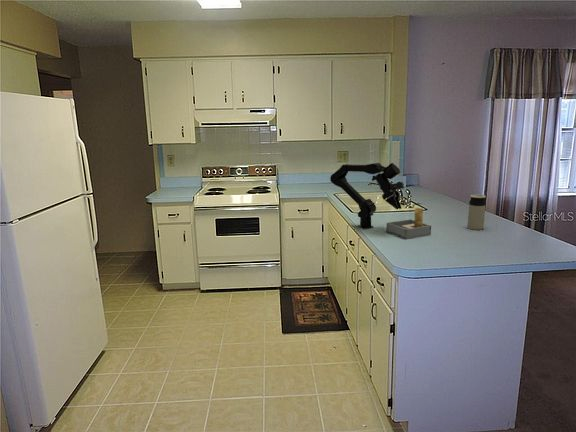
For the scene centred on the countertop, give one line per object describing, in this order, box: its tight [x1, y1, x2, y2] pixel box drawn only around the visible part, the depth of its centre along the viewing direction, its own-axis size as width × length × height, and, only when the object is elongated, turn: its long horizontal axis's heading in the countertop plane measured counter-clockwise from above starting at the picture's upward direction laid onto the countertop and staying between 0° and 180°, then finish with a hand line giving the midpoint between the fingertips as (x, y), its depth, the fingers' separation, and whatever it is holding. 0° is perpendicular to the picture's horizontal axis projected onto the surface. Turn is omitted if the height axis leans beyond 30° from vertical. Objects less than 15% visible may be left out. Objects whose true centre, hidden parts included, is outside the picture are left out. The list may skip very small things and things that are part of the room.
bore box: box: [385, 218, 432, 240], centre depth 215 cm, size 16×16×5 cm
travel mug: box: [467, 194, 487, 231], centre depth 219 cm, size 8×8×18 cm
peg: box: [414, 207, 424, 228], centre depth 212 cm, size 4×4×12 cm
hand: (399, 208), depth 215 cm, fingers open, 9 cm apart
